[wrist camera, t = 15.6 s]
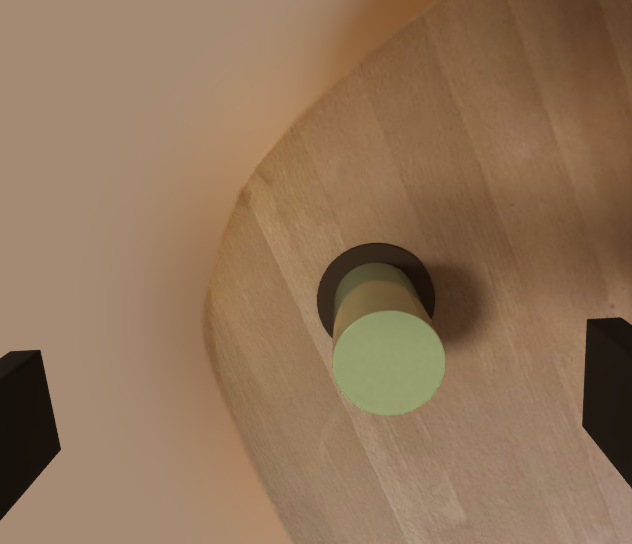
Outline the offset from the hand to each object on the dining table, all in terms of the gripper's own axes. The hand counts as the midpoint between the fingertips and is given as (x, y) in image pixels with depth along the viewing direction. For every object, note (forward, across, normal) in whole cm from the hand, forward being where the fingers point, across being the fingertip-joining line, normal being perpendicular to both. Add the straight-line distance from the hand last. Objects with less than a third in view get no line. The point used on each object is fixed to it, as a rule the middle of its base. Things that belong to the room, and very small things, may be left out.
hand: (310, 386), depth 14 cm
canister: (+30, +3, -8) cm, 31 cm away
